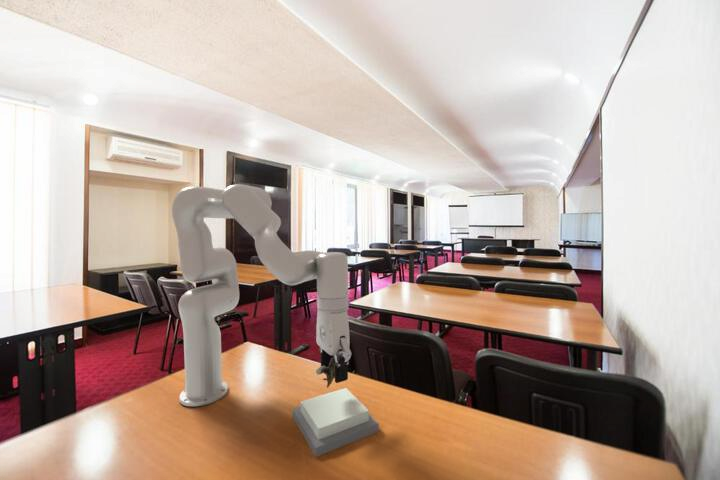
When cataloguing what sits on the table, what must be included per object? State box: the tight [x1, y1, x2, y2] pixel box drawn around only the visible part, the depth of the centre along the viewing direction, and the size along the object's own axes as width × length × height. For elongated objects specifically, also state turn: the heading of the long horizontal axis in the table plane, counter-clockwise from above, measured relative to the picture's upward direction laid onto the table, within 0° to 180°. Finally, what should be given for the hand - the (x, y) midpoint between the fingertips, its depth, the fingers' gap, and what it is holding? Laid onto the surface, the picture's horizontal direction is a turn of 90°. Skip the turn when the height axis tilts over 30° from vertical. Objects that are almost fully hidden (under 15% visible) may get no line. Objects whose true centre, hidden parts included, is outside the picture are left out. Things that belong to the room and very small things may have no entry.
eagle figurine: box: [315, 354, 343, 389], centre depth 76 cm, size 8×7×9 cm
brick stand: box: [292, 387, 380, 458], centre depth 75 cm, size 16×16×5 cm
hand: (333, 373), depth 74 cm, fingers closed on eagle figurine, 7 cm apart
